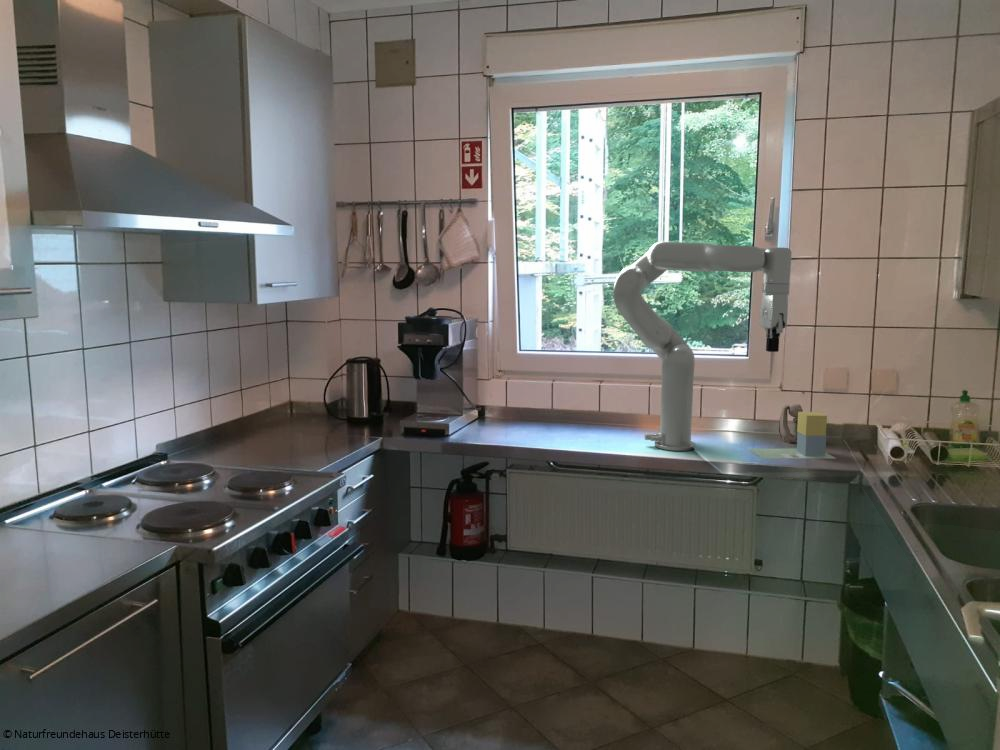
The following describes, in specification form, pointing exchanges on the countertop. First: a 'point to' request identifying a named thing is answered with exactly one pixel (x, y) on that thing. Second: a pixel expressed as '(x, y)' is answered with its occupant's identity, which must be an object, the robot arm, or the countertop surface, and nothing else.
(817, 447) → the base brick
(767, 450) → the board
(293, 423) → the countertop surface
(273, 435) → the countertop surface
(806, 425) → the brick
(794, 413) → the toy
